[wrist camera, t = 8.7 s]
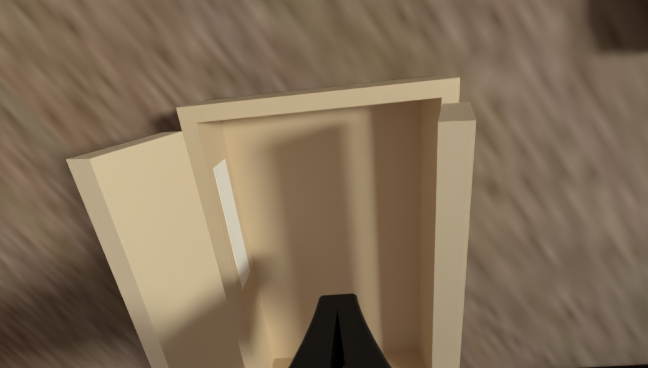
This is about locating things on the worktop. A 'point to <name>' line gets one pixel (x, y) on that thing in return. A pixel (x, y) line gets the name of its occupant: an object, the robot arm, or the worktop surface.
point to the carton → (323, 209)
